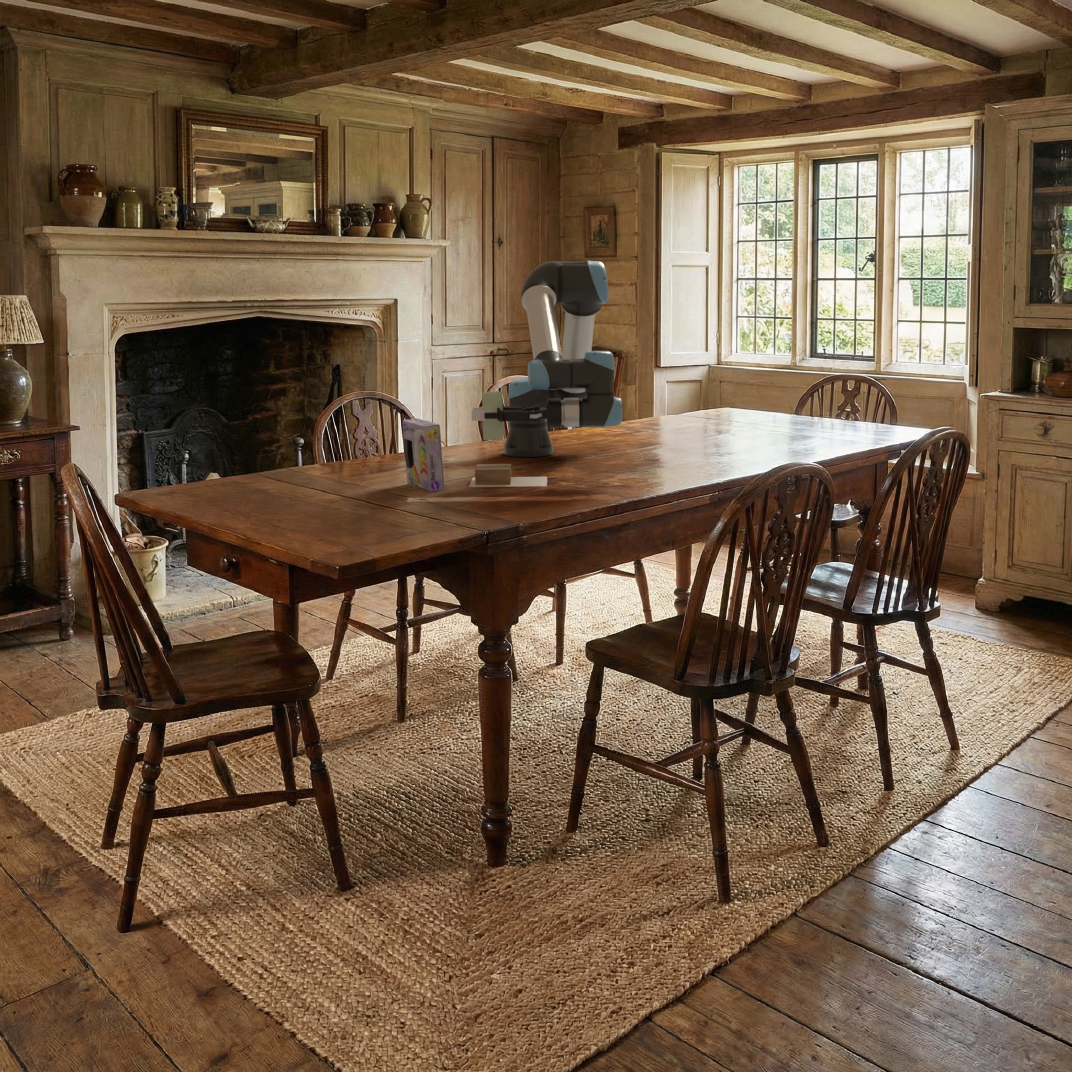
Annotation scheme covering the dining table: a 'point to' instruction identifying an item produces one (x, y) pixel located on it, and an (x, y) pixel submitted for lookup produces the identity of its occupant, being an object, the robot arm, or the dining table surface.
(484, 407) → the pillar
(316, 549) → the dining table surface
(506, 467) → the base block
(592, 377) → the robot arm
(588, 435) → the dining table surface
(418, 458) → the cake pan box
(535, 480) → the build board
